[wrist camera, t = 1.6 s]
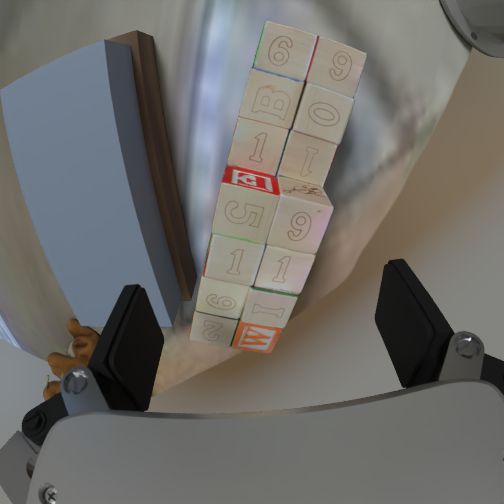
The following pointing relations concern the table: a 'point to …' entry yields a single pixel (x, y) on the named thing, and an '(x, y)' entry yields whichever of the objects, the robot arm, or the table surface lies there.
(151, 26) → the table surface
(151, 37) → the walnut tower block
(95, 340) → the stuffed squirrel
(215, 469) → the robot arm
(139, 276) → the slate-blue tower block
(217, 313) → the stack of blocks
